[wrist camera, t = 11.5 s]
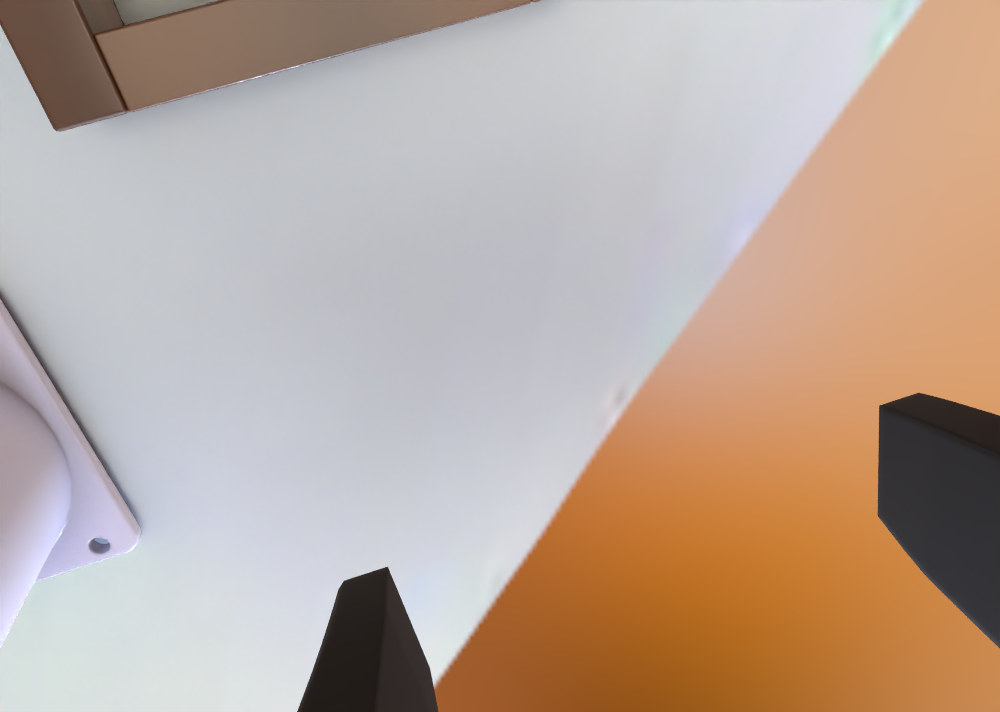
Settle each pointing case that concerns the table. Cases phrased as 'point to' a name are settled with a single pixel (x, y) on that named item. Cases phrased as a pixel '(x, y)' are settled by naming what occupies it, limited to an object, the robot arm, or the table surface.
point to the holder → (198, 45)
